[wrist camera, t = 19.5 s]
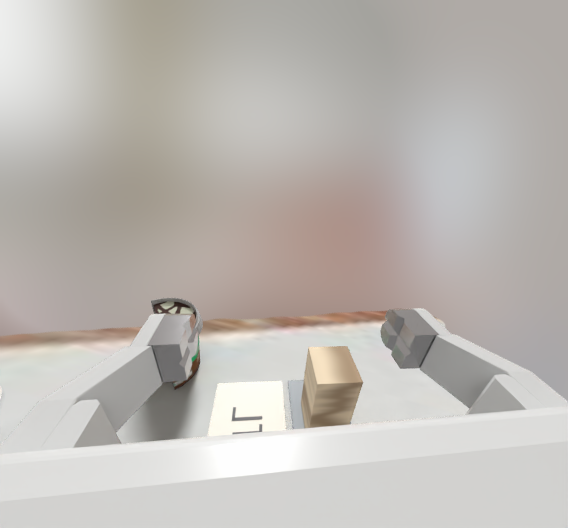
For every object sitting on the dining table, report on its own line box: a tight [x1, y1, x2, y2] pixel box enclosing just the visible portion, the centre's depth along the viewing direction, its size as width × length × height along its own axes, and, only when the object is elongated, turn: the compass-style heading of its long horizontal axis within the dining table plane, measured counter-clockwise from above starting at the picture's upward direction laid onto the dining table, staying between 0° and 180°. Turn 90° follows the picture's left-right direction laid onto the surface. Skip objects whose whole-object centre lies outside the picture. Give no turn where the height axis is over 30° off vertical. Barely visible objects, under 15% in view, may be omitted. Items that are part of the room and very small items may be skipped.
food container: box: [151, 298, 203, 389], centre depth 36 cm, size 12×6×10 cm, turn 36°
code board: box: [208, 380, 351, 436], centre depth 30 cm, size 19×12×1 cm, turn 95°
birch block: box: [301, 346, 363, 428], centre depth 28 cm, size 5×5×11 cm
